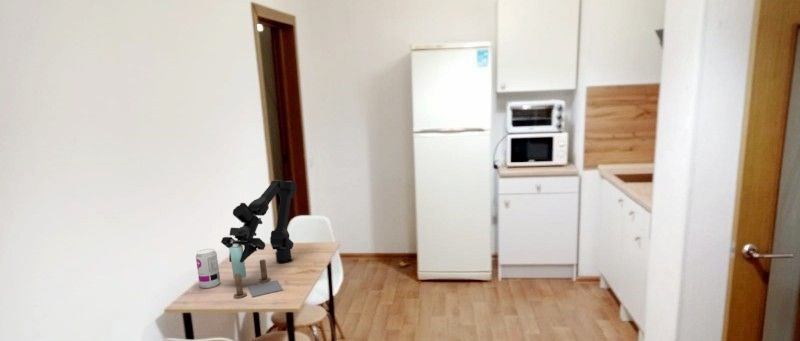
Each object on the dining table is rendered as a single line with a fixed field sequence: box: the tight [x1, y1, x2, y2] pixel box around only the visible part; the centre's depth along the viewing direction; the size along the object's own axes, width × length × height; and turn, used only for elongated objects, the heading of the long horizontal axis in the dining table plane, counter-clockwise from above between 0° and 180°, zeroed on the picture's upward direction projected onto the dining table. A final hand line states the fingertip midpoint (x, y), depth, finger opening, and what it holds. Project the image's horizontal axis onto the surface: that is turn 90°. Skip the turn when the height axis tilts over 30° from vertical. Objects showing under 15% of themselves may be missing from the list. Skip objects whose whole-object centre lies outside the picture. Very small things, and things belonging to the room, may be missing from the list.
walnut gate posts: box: [233, 259, 272, 300], centre depth 188 cm, size 21×5×9 cm, turn 161°
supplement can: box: [195, 248, 221, 289], centre depth 195 cm, size 8×8×15 cm
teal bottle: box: [229, 243, 247, 280], centre depth 189 cm, size 5×5×14 cm
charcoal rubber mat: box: [247, 279, 284, 298], centre depth 187 cm, size 12×12×1 cm
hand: (235, 261), depth 188 cm, fingers closed on teal bottle, 5 cm apart
